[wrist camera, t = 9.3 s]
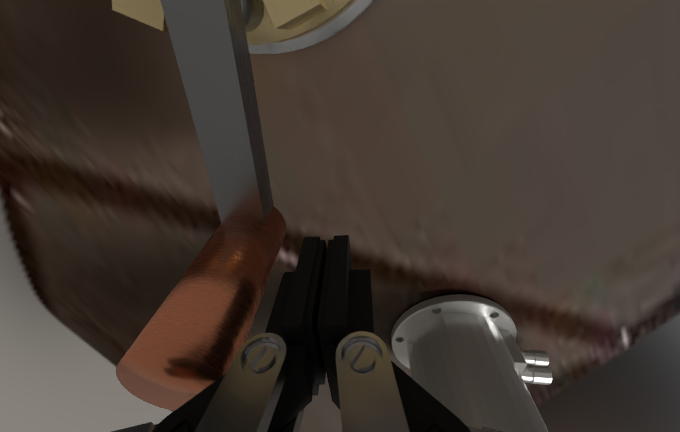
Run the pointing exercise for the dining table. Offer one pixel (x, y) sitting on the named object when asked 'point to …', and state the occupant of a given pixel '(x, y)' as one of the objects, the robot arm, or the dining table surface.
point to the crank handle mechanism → (218, 189)
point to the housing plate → (316, 36)
